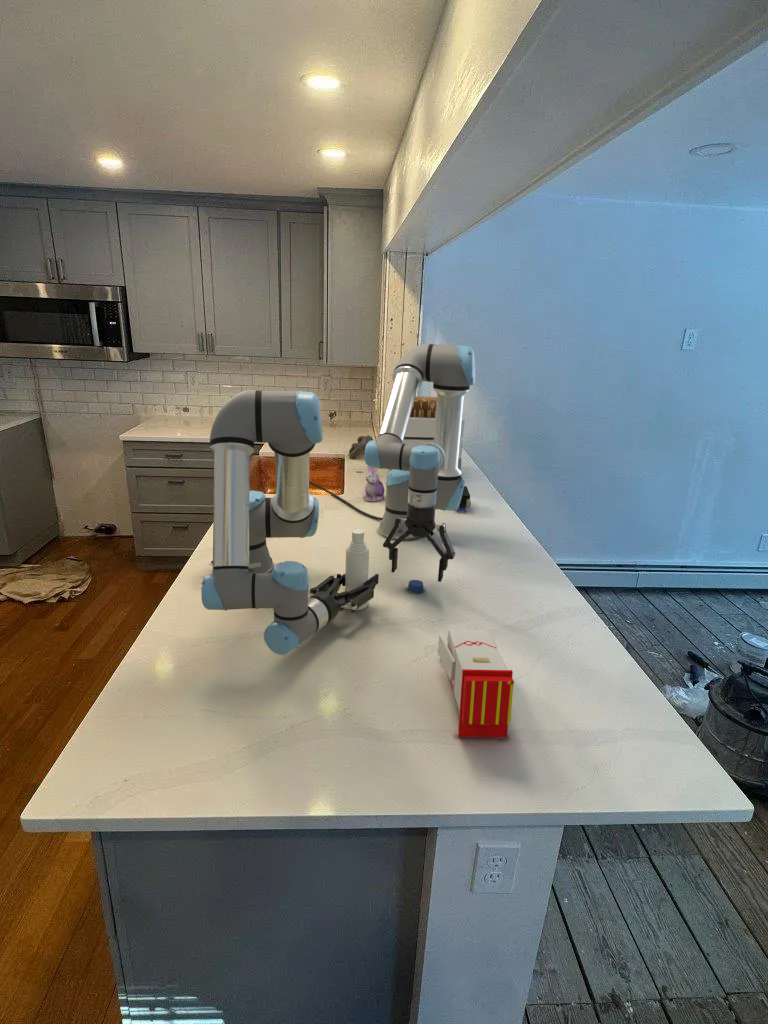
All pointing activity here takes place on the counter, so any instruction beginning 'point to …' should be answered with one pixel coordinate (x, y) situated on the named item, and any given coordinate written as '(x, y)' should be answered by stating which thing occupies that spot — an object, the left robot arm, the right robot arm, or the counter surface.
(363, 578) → the bottle
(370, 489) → the figurine
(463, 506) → the figurine character
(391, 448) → the right robot arm
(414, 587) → the cap
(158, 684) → the counter surface
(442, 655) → the toy
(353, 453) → the fossil
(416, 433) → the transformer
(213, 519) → the left robot arm
